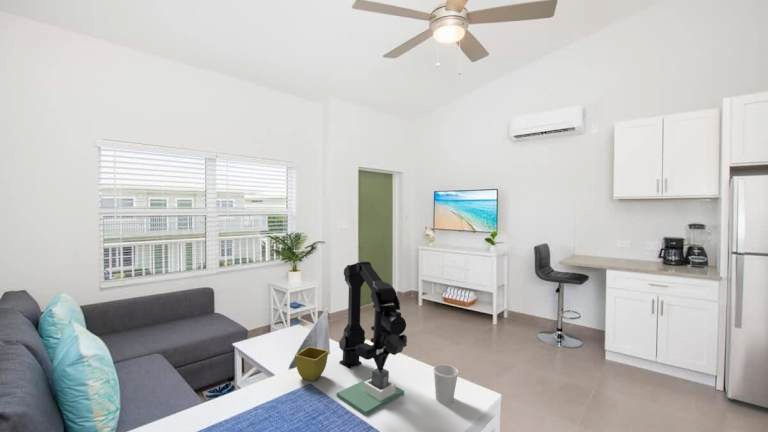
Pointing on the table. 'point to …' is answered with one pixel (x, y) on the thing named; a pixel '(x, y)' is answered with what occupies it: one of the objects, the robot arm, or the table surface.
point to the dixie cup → (445, 383)
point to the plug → (380, 378)
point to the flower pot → (311, 363)
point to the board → (369, 396)
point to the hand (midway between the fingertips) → (380, 370)
